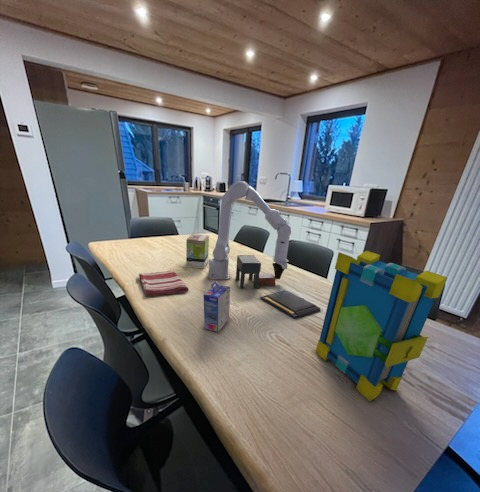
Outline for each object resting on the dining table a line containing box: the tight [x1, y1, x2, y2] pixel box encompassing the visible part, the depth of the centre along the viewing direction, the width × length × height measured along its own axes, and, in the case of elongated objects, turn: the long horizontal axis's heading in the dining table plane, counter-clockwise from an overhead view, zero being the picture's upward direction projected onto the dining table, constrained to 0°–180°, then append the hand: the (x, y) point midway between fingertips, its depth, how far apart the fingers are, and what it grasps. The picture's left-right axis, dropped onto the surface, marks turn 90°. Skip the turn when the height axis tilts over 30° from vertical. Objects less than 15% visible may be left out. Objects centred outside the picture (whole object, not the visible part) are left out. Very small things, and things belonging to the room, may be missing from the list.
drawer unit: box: [235, 254, 262, 290], centre depth 121 cm, size 10×12×12 cm
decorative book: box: [315, 250, 448, 402], centre depth 65 cm, size 14×23×30 cm, turn 24°
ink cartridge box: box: [203, 280, 231, 333], centre depth 86 cm, size 10×6×14 cm, turn 161°
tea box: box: [185, 233, 210, 269], centre depth 142 cm, size 15×10×15 cm, turn 179°
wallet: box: [259, 290, 321, 319], centre depth 106 cm, size 20×2×15 cm
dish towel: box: [138, 270, 189, 298], centre depth 115 cm, size 17×23×3 cm
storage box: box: [252, 272, 277, 287], centre depth 124 cm, size 9×6×4 cm, turn 101°
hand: (277, 278), depth 125 cm, fingers closed
